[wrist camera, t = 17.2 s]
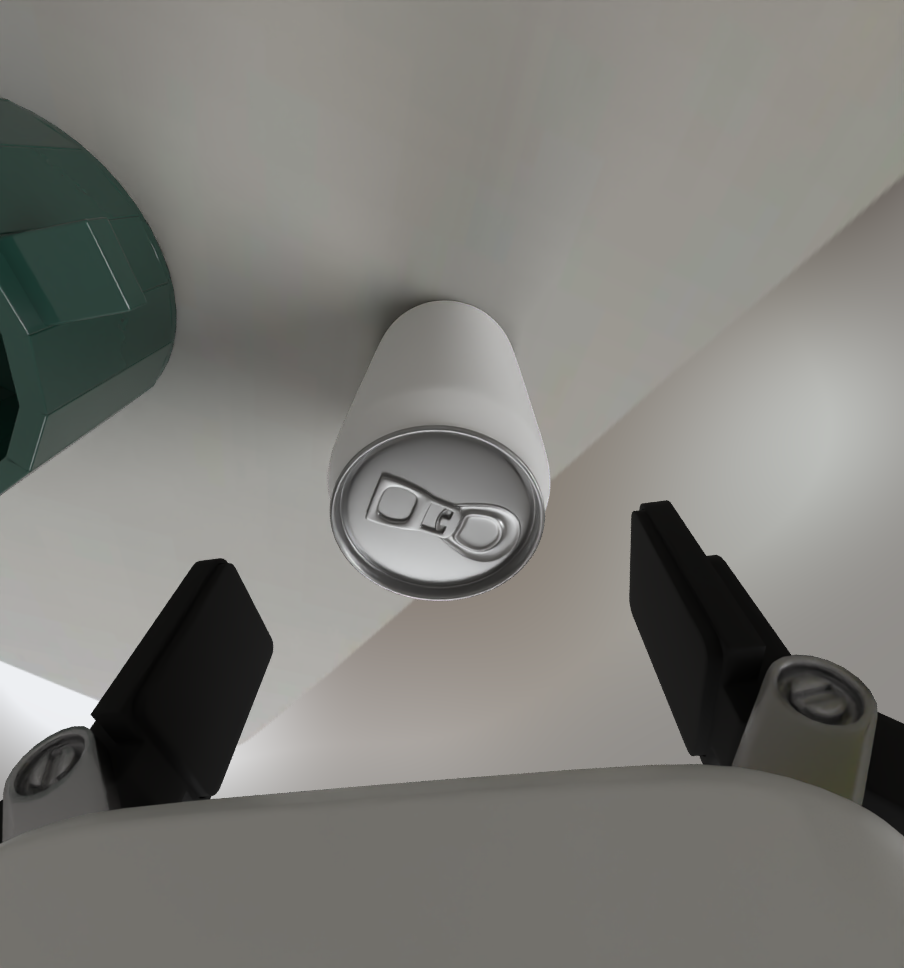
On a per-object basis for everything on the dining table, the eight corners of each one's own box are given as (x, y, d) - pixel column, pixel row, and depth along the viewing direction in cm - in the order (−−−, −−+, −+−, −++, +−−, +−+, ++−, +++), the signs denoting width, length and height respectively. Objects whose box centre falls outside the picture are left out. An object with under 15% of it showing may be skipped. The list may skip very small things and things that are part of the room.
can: (480, 450, 25) (496, 635, 15) (358, 404, 24) (287, 573, 14) (539, 332, 22) (611, 467, 12) (403, 272, 21) (353, 366, 11)
